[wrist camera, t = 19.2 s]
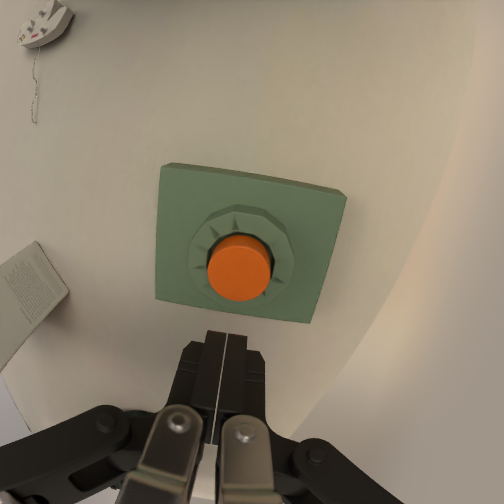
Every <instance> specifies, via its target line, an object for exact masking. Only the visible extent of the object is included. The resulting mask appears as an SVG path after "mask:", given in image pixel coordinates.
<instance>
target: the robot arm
mask: <svg viewBox="0 0 504 504" xmlns="http://www.w3.org/2000/svg"><path fill="white" fill-rule="evenodd" d="M226 334H227V333H223V332H216V331H211V330H208V331H207V334H206V339H205V343H201V342H196V341H191V342H190V343H189V344H188V345H187V346H186V347H185V348H184V349H183V352H182V355H181V358H180V362H179V364H178V368H177V371H176V374H175V377H174V381H173V384H172V387H171V391H170V394H169V397H168V401H167V403H166V405H165V406H164V408H163V409H162V410H160V411H159V412H157V413H155V414H153V415H149V416H127V415H126V414H125V413H124V412H123V411H122V410H121V409H119V408H117V407H115V406H111V405H100V406H97V407H95V408H92V409H90V410H88V411H86V412H84V413H82V414H79V415H77V416H75V417H73V418H70V419H68V420H66V421H64V422H61V423H59V424H57V425H54V426H52V427H50V428H47V429H45V430H42V431H40V432H38V433H35V434H33V435H30V436H28V437H25V438H23V439H20V440H18V441H15V442H12V443H9V444H6V445H4V446H1V447H0V504H74V503H77V502H79V501H81V500H83V499H86V498H87V497H90V496H92V495H94V494H96V493H98V492H100V491H102V490H104V489H106V488H108V487H110V486H112V485H114V484H115V483H117V482H119V481H121V480H123V479H124V481H123V484H122V486H121V489H120V491H119V494H118V497H117V499H116V502H115V504H189V503H190V499H191V495H192V491H193V488H194V484H195V480H196V476H197V472H198V468H199V464H200V461H201V459H202V456H203V449H204V443H206V444H210V443H211V436H212V429H213V422H214V415H215V408H216V401H217V394H218V388H219V381H220V374H221V368H222V361H223V354H224V347H225V341H226ZM212 444H213V445H218V450H217V458H216V464H215V504H283V503H284V504H404V503H402V502H401V501H400V500H398V499H397V498H396V497H394V496H393V495H392V494H390V493H389V492H388V491H387V490H385V489H384V488H383V487H381V486H380V485H379V484H378V483H376V482H375V481H374V480H372V479H371V478H370V477H369V476H368V475H366V474H365V473H364V472H363V471H362V470H360V469H359V468H358V467H357V466H356V465H354V464H353V463H352V462H351V461H350V460H349V459H347V458H346V457H345V456H344V455H343V454H342V453H340V452H339V451H338V450H337V449H336V448H335V447H334V446H332V445H331V444H330V443H329V442H327V441H325V440H322V439H318V438H310V439H306V440H303V441H301V442H300V443H299V442H296V441H293V440H290V439H286V438H284V437H281V436H279V435H277V434H276V433H275V432H273V431H272V430H271V429H270V427H269V426H268V424H267V422H266V418H265V361H264V359H263V357H262V355H261V354H260V352H259V351H253V350H247V336H243V335H236V334H229V333H228V339H227V345H226V352H225V358H224V365H223V372H222V379H221V385H220V392H219V399H218V407H217V414H216V421H215V428H214V435H213V443H212Z"/></svg>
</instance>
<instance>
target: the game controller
mask: <svg viewBox="0 0 504 504" xmlns="http://www.w3.org/2000/svg"><path fill="white" fill-rule="evenodd" d="M60 7H61V4H60V3H59V2H58V1H56V0H49V1H48V2H47V4H46V5H45V7H44V8H43V10H42V11H40V12H39V17H38V19H37V20H36V22H34V21H32V20H30V19H29V20H27V21H26V22H25V23H24V24H23V26H22V28H21V31H20V34H19V37H18V43H19V44H20V45H23V46H25V47H27V48H35V47H38V46H42V45H44V44H47V43H49V42H50V41H52V40H54V39H56V38H57V37H59V36H60V35H61V34H62V33H63V32H64V30H65V29H66V27H67V25H68V23H69V22H70V20H71V18H72V16H73V11H71V10H70V9H69V8H68V7H66V6H63V7H61V8H60ZM39 52H40V48H39ZM38 56H39V53H38ZM38 56H37V57H38ZM35 60H36V59H35ZM34 64H35V61H34ZM33 79H34V65H33ZM35 81H36V79H35ZM36 95H37V81H36ZM35 99H36V96H35ZM34 101H35V100H34ZM34 101H33V103H34ZM33 103H32V108H33ZM31 115H32V110H31ZM32 121H33V117H32ZM33 123H35V122H33Z"/></svg>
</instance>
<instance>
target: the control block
mask: <svg viewBox="0 0 504 504" xmlns="http://www.w3.org/2000/svg"><path fill="white" fill-rule="evenodd" d="M346 199H347V197H346V196H345V195H344V194H342V193H341V192H340V191H339V190H336V189H331V188H327V187H322V186H317V185H312V184H307V183H302V182H297V181H292V180H287V179H281V178H276V177H270V176H265V175H259V174H253V173H246V172H240V171H233V170H227V169H220V168H212V167H205V166H197V165H188V164H180V163H169V164H167V165H164V166H161V171H160V183H159V196H158V211H157V232H156V277H155V285H156V299H158V300H163V301H168V302H173V303H178V304H183V305H189V306H194V307H200V308H205V309H211V310H217V311H223V312H229V313H235V314H242V315H248V316H255V317H262V318H269V319H276V320H284V321H291V322H299V323H308V324H310V322H311V319H312V316H313V313H314V310H315V307H316V304H317V301H318V298H319V295H320V292H321V289H322V285H323V282H324V279H325V276H326V272H327V269H328V266H329V262H330V259H331V255H332V252H333V248H334V245H335V241H336V238H337V234H338V230H339V227H340V223H341V219H342V215H343V211H344V207H345V203H346ZM236 235H243V236H249V237H252V238H254V239H256V240H257V241H259V242H260V243H261V244H262V245H263V246H264V247H265V249H266V250H267V252H268V255H269V259H270V281H269V284H268V286H267V288H266V289H265V290H264V291H263V292H262V293H261V294H260V295H259V296H257V297H256V298H254V299H251V300H247V301H233V300H229V299H226V298H224V297H222V296H221V295H219V294H218V293H217V292H216V291H215V290H214V289H213V288H212V286H211V284H210V282H209V279H208V274H207V269H208V265H209V262H210V259H211V257H212V254H213V251H214V249H215V248H216V246H217V245H218V244H219V243H220V242H221V241H223V240H224V239H226V238H228V237H231V236H236Z"/></svg>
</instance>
